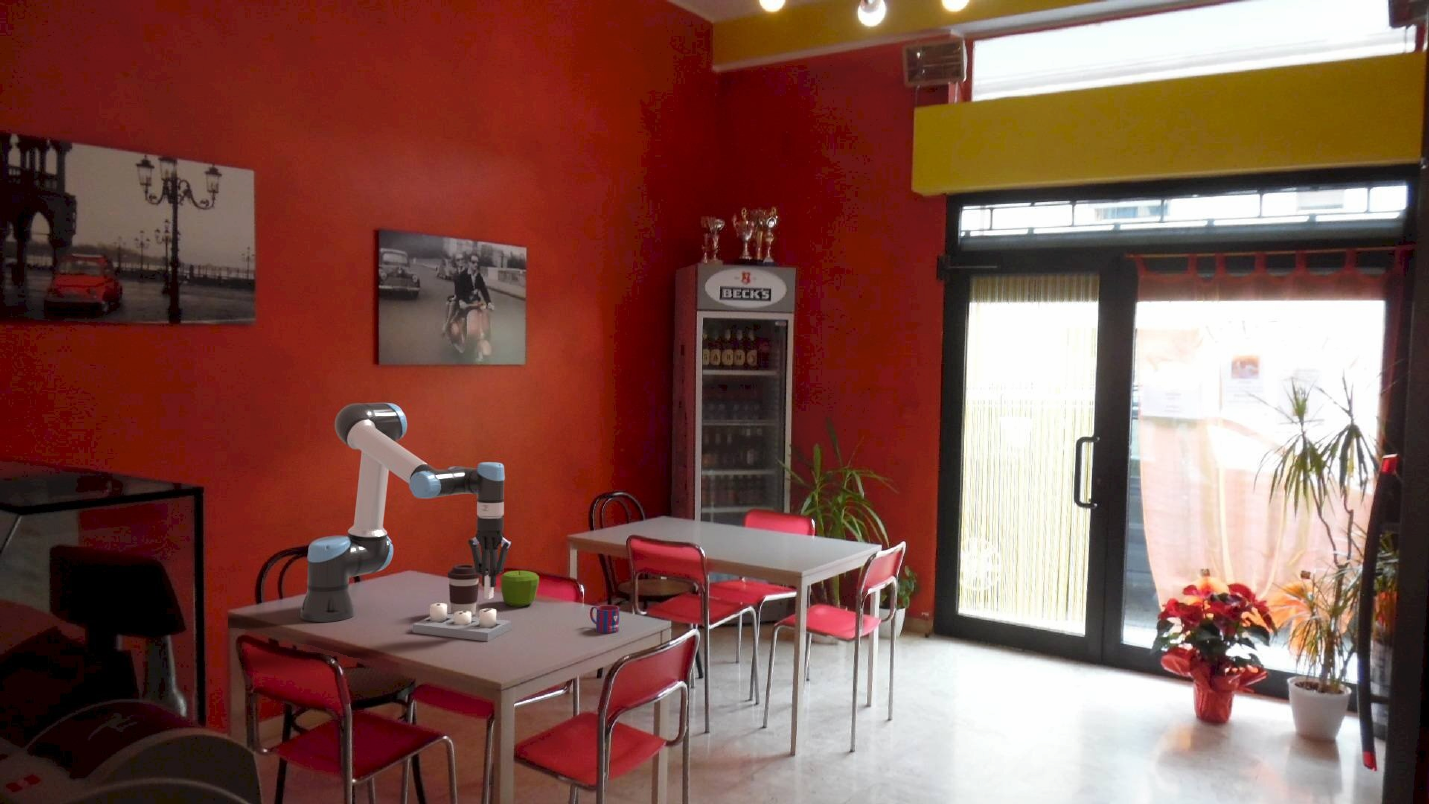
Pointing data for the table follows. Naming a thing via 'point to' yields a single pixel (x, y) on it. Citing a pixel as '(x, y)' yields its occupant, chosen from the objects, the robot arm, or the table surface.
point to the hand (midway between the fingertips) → (488, 598)
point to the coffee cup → (463, 588)
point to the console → (461, 628)
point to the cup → (606, 618)
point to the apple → (519, 587)
